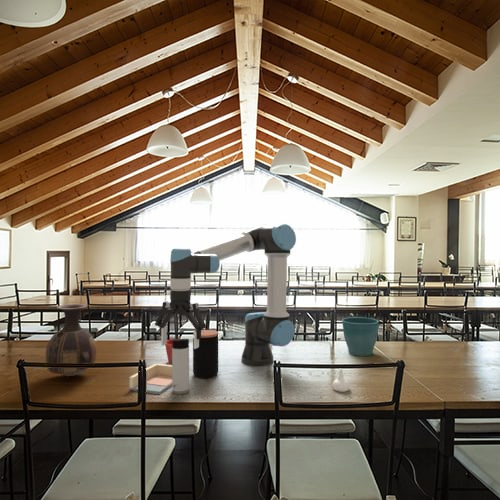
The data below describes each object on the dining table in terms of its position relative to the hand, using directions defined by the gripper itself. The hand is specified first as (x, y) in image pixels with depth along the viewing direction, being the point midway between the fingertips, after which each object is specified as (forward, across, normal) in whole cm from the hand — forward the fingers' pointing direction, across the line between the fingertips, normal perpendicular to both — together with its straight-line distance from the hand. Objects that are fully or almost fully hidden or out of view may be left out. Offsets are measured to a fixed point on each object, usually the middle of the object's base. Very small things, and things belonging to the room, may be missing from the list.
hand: (179, 346), depth 143 cm
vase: (+18, +51, 0) cm, 54 cm away
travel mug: (+17, 0, 0) cm, 17 cm away
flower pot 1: (+17, +20, -33) cm, 42 cm away
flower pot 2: (+16, -62, -75) cm, 99 cm away
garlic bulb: (+17, -57, -21) cm, 63 cm away
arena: (+17, +12, -4) cm, 21 cm away
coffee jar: (+17, -1, -20) cm, 27 cm away
